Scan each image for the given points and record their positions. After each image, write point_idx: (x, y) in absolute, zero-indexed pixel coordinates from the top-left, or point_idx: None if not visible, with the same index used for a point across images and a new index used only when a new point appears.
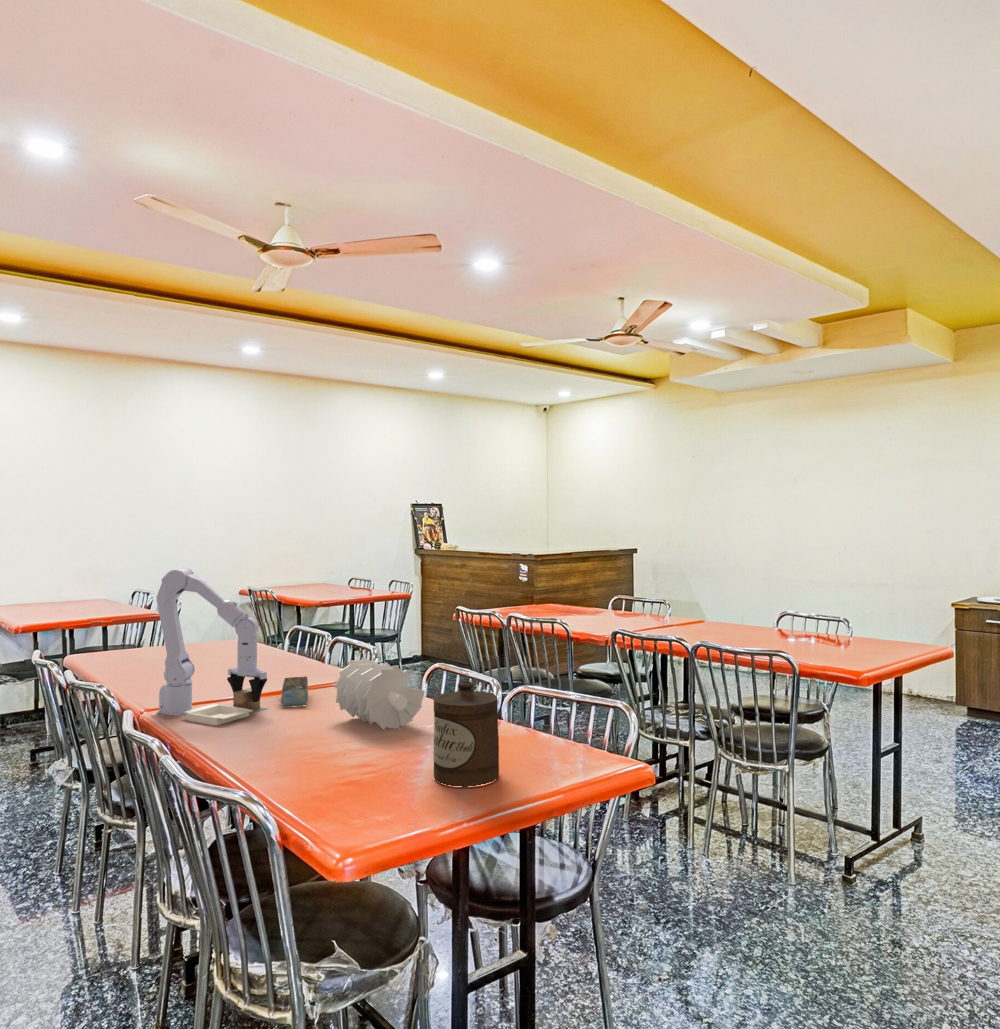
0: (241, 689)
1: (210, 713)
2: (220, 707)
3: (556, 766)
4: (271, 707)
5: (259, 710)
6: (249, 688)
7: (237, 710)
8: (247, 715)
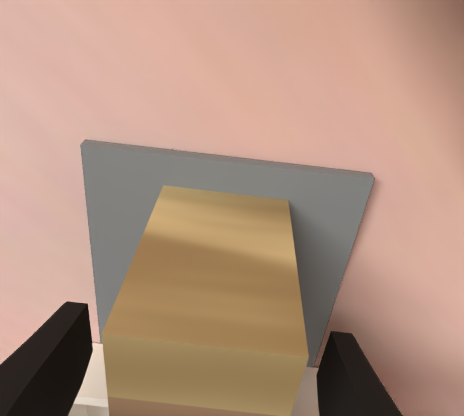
0: (37, 385)
1: (84, 413)
2: None
3: None
4: (342, 72)
5: (330, 255)
6: (119, 364)
7: None
8: None
